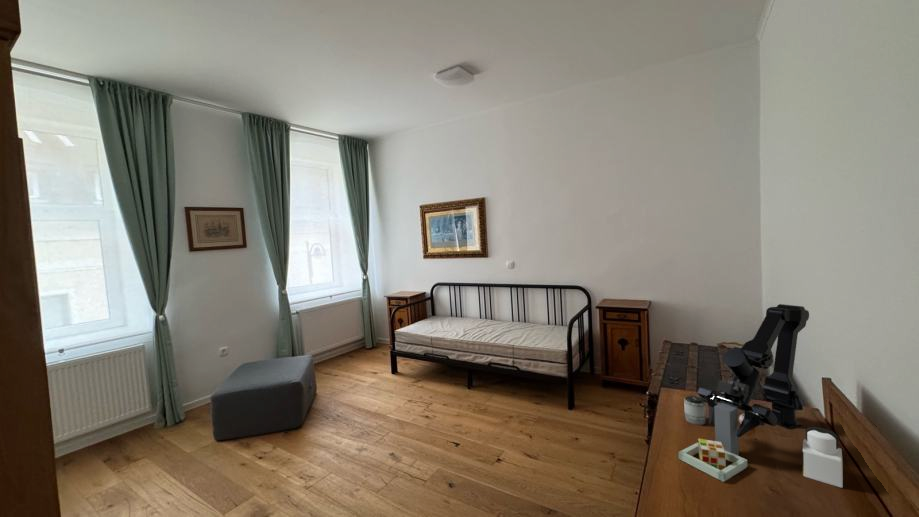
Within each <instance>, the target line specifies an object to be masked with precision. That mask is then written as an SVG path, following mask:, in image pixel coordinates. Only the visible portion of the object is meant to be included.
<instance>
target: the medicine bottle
mask: <svg viewBox="0 0 919 517" xmlns="http://www.w3.org/2000/svg"><path fill="white" fill-rule="evenodd" d="M839 440H840V439H839V435H837V434H836V433H835V432H833V431H831V430H829V429H827V428H823V427H818V426H808V427H807V428H805V439H803V442H802V475H803V477H805V478H807V479H811V480H814V481H818V482H819V483H820V482H821V483H824V484H828V485H831V486H834V487H837V488H841V489H842V488H843V487H844V486H843V485H844V484H843V482H844V478H843V477H844V476H843V474H844V473H843V469H844V468H843V465H844V464H843V450H842V448H840V447H839V446H840V444H839V442H840V441H839Z"/></svg>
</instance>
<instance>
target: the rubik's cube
mask: <svg viewBox="0 0 919 517" xmlns="http://www.w3.org/2000/svg"><path fill="white" fill-rule="evenodd" d="M697 440H698V447H699V453H698V459H699V460H701V461H703V462H705V463H707V464H709V465H711V466H713V467H715V468H717V469H719V470H723V469H724V468H726V467H727V461H726V455H725V450H724V448H723V446H722V443H721V442H718V441H715V440H709V439H703V438H697Z"/></svg>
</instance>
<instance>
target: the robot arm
mask: <svg viewBox="0 0 919 517" xmlns="http://www.w3.org/2000/svg"><path fill="white" fill-rule="evenodd" d="M809 319H810V311H809V310H808V309H806V307H805V306H803V305H802V306H800V305H792V304H782V303H779V304H777V306H770V307H768V308H767V309H766V311H765V317H764V318H763V320H762V322H761V324H760V325H759V328H758V330H757V332H756V333H755V334H754V337H753V338H752V339H751V340H748V341H746V342H745V343H744V344H743V345H742V347H737V346H734V347H733V349H730V350H727V351H725V352H724V353H723V354H722V355H721V360H722V363H723V364H724V365H725V366H726V368H727V369H728V371H729V372H731V374H732V375H733V377H732V379H729V380H728V381H723V380H720V379H718V380H717V383H716V388H715V390H713V389H711V388H707V387H704V386H701V387H699V388H698V389H697V392H696V394H697V395H698V397H699V398H701V399H702V400H703V401H704V402H706V404H707V405H708V425H709V426H710V427H713V426H714V425H715V413H714V406H717V405H719V404H721V403H724V404H727V405H730V406H732V407H735V408H737V410H739V411H743V412H744V416H743V419H742V421H741V423H740V425H739V426H738V432H737V437H738V438H741V437H743V436H744V435H745V434H747V433H749V431H751V430H753V429H755V428H757V427H759V426H765V425H769V426H770V427H777V425H779V426H782V427H784V428H786V429H792V428H796V427H800V426H802V425H803V424H802V422H800V421H798V420H797V411H803V410H804V405H805V403H804V401H805V400H804V399H803V397H802V396H801V394H800V393H799V387H798V385H797V383H796V381H795V379H794V377H793V376H794V369H795V368H794V366H795V358H796V352H797V343H798V335H799V333H800V332H801V331H802V330H803V329H804V328H805V327H806V325H807V322H808V320H809ZM776 341H777V342H776ZM775 342H776V350H775V357H774V353H773V351H772V349H773V346H774V345H775ZM773 363H774V364H773ZM772 365H773V372H772V373H771V374H770V375H769V376H766V377H765V378H764V384H763V385H762V393H763V399H764V402H766V403H771V408H770V407H768V406H764V405H761V404H758V403H754V404H752V405H750V403H751V401H752V399H755V397H756V394H755V391H756V388H757V386H758V383H759V382H761V381H763V377H762V374H761V372H760V371H759V370H758V369H762V370H768V369H769V368H770V367H771V366H772ZM715 391H717V392H720V395H722V396H720V395H718V393H717V392H715Z"/></svg>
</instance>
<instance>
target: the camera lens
mask: <svg viewBox="0 0 919 517" xmlns="http://www.w3.org/2000/svg"><path fill="white" fill-rule="evenodd" d="M683 401H684V403H683V404H684V406H683V407H684V417H685V420H686V421H687V423H689V424H692V425H696V426H697V425H698V426H699V425H700V426H702V425H704V424H706V420H707V405H706V404H707V403H706V402H704V401H703V400H702V399H701V398H700V396H696V395H689V396H685V397H684V399H683Z"/></svg>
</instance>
